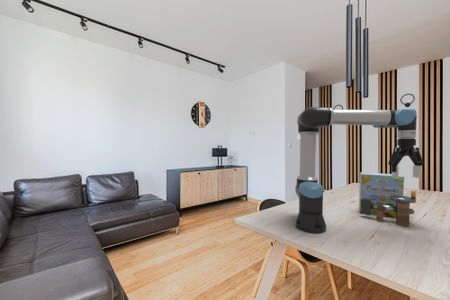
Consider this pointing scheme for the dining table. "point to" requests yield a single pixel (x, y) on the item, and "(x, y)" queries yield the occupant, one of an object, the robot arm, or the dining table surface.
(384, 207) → the cube-head mallet
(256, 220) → the dining table surface
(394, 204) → the snack box
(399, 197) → the lock wheel
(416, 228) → the dining table surface
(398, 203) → the notched wooden block
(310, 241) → the dining table surface
